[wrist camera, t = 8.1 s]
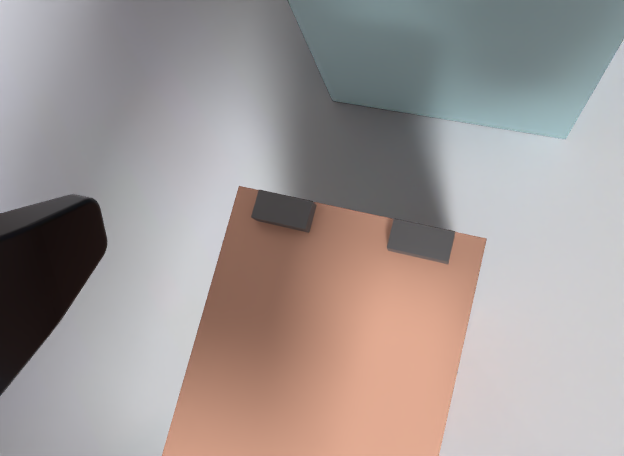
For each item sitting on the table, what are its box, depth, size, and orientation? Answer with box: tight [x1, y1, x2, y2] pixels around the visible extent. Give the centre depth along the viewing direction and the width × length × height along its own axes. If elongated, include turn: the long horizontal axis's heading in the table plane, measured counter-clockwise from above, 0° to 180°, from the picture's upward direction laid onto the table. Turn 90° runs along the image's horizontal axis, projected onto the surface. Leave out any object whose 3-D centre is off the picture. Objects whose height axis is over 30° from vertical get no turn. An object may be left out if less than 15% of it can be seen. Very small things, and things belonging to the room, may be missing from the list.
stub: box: [162, 186, 486, 456], centre depth 15 cm, size 5×4×12 cm
